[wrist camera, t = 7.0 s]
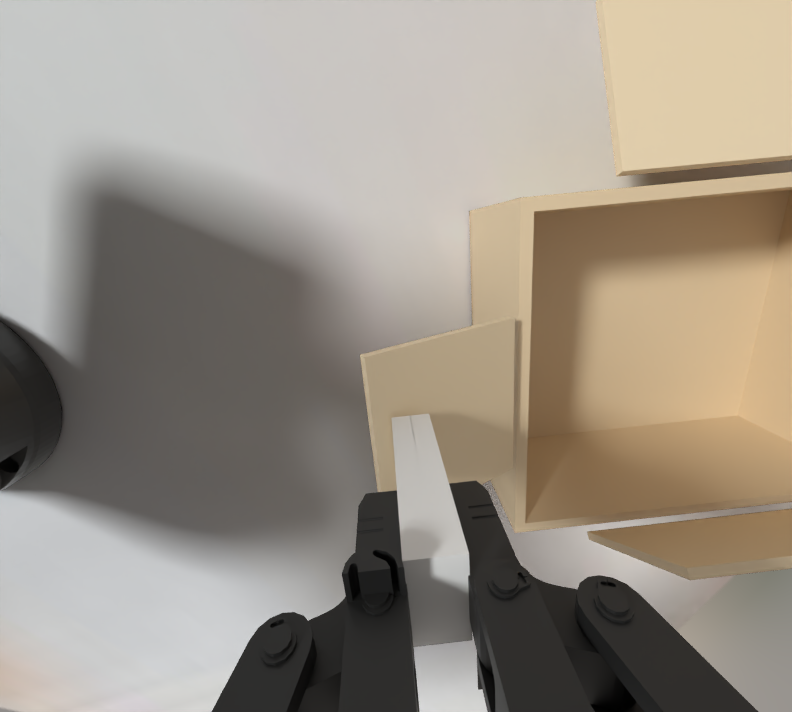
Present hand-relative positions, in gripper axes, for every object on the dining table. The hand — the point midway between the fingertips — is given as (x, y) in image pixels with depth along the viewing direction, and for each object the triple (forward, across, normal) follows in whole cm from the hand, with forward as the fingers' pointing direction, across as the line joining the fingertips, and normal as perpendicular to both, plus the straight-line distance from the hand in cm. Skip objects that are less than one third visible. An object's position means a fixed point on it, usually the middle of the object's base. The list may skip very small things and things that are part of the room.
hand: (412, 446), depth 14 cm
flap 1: (+1, +2, 0) cm, 2 cm away
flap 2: (+5, +17, +13) cm, 22 cm away
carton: (+13, +17, 0) cm, 21 cm away
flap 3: (0, +17, -7) cm, 18 cm away
